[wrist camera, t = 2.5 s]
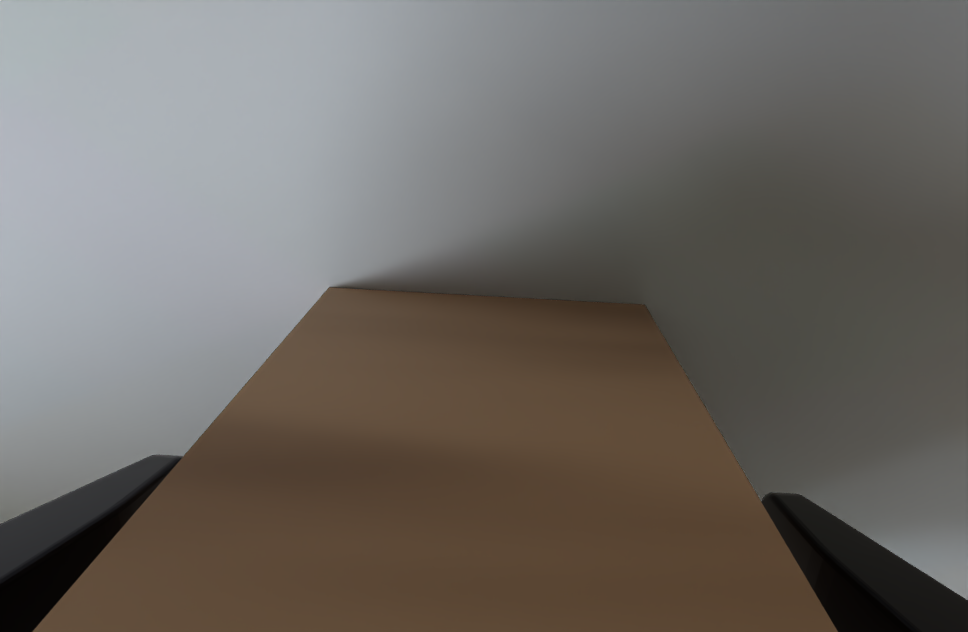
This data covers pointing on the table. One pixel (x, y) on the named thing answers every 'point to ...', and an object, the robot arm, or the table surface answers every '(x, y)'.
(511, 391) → the brown wooden block
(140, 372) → the table surface
